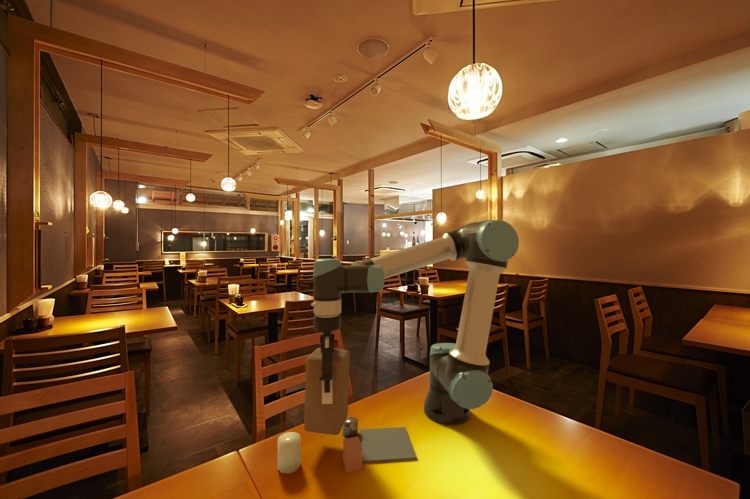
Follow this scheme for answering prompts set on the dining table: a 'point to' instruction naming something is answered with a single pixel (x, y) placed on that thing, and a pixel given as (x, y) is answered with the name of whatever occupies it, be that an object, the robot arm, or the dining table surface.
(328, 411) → the wooden block
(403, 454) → the mat
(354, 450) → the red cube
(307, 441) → the dining table surface
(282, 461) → the cream rounded cylinder
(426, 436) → the dining table surface
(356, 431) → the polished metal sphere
